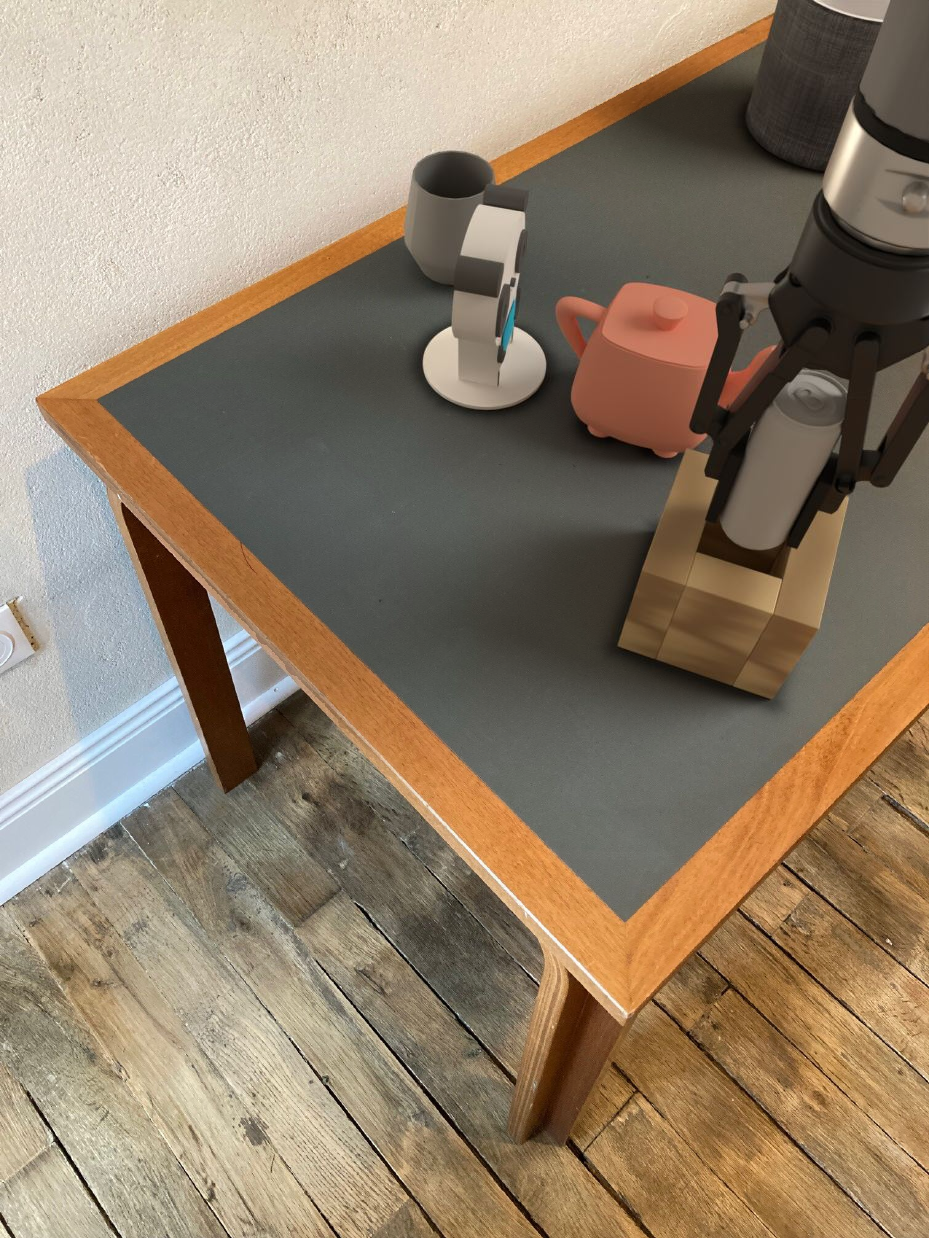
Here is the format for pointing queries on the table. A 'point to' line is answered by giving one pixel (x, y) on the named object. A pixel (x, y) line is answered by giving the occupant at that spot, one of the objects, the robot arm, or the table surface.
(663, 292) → the teapot
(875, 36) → the planter
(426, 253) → the cup
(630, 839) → the table surface
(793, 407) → the beverage can
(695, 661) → the wooden box
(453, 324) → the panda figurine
